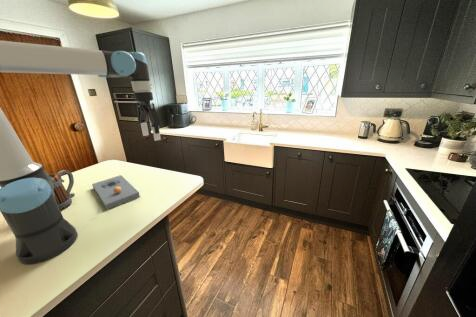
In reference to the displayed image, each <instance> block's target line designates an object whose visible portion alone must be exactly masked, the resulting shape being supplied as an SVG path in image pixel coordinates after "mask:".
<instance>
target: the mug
mask: <svg viewBox="0 0 476 317" xmlns="http://www.w3.org/2000/svg"><path fill="white" fill-rule="evenodd" d="M47 174H48V175H49V176H50V177H51V178H52V180H53V182H54V194H55V199H56V202H57V204H58V207H59V209H60V211H61V212H62V211H64V210H65V209H67V208H68V207H70V206H71V205H72V202H73V200H72V198H74V197H75V196H76V195H75V192H71V191H72V190H73V187H74V183H75V180H74V179H75V178H74V175H73V174H72V172H71V171H70V170H65V169H64V170H60V171H58V172H57V173H47ZM63 174H66V176H68V181H69V182H68V185H67V188H65V186H64V184H63V183H65V179H62V175H63Z"/></svg>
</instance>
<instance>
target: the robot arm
mask: <svg viewBox="0 0 476 317" xmlns="http://www.w3.org/2000/svg"><path fill="white" fill-rule="evenodd" d="M0 73H11V74H12V73H13V74H14V73H17V74H19V73H20V74H44V75H45V74H48V75H49V74H50V75H51V74H53V75H55V74H56V75H83V76H84V75H86V76H87V75H89V76H90V75H91V76H98V77H100V78H107V79H108V78H130V83H131V87H132V91H133V92H134V93H133V96H134V100H135V101H136V106H137V121H138V122H139V123H140V127H141V131H142V132H141V133H142V136H143V137H145V136H149V135H150V132H149V128H148V124H147V122H148V121H147V116H148V119H149V121H150V123H151V129H152V134H153V140H154V141H155V142H156V141H161V140H162V138H161V132H160V126H161V125H162V123H161V121H160V118H159V115H158V113H157V109H156V107H155V103H154V102H152V103H151V101H153V100H154V96H153V92H152V82H151V81H150V80H151V79H150V72H149V68H148V61H147V58H146V55H145V54H144V53H143V52H139V51H125V50H116V51H111V50H101V49H100V50H99V49H90V48H89V49H88V48H81V47H80V48H79V47H72V46H71V47H68V46H59V45H47V44H41V43H40V44H39V43H30V42H28V43H27V42H20V41H19V42H18V41H9V40H0ZM48 174H49V173H47V172H46V169H45V168H44V166H43V165H42V164H41V163H38V162H34V161H33V159H32V157H31V155H30V154H29V152H28V151H27V149H26V147H25V145H24V144H23V142H22V141H21V139H20V138H19V136H18V134H17V132H16V131H15V130H14V127H13V126H12V124H11V123H10V121H9V119H8V118H7V116H6V114H5V112H4V111H3V110H2V107H0V213H1V215H2V216H3V218H4V220H5V221H6V223H7V225H8V227H9V228H10V230H11V232H12V233H13V235H14V237H15V256H16V258H17V260H18V262H19V263H21V264H22V265H32V264H34V265H35V264H38V263H42V262H45V261H48V260H49V259H52V258H54V257H56V256H58V255H60V254H61V253H63V252H64V251H66V250H68V249H69V248H70V247H71V246H72V245H73V244H74V243H75V242H76V241H77V238H78V237H79V236H78V231H77V229H76V227H74V225H73V224H71V223H70V222H69V221H68V220H67V219H66V218H64V216H63V214H62V210H61V211H60V209H59V207H58V204H57V202H56V199H55V194H54V182H53V180H52V178H51V177H50V176H49V175H48Z"/></svg>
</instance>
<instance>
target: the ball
mask: <svg viewBox="0 0 476 317" xmlns="http://www.w3.org/2000/svg"><path fill="white" fill-rule="evenodd" d="M114 192H115V193H120V192H121V188H120V187H115V188H114Z"/></svg>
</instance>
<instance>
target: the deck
mask: <svg viewBox="0 0 476 317" xmlns="http://www.w3.org/2000/svg"><path fill="white" fill-rule="evenodd" d="M91 185H92V188H93V190H94V192H95V193H96V195H97V196H98V198H99V199H100V201H101V203H102V205H103V206H104V207H105V209H106V210H107V211H108V210H110V209H112V208H115V207H117V206H120V205H123V204H125V203H128V202H130V201H132V200H135V199H138V198H141V196H140V195H141V194H140V192H139V191H138V190H137V189H136V188H135V187H134V186H133V184H131V183H130V182H129V181H128V180H127V179H126V178H125V177H124V176H123V175H118V176H117V175H116V176H114V177H111V178H107V179H103V180H101V181H100V180H99V181H97V182H94V183H92V184H91ZM115 187H120V188H121V192H120V193H115V192H114V188H115Z"/></svg>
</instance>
